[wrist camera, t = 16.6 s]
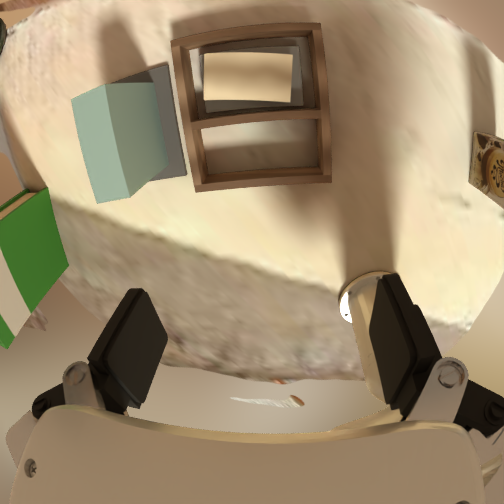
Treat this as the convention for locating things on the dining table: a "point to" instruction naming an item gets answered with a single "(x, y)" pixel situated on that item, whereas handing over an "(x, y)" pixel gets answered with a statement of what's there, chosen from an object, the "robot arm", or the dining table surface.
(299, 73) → the offcut lower
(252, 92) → the offcut upper
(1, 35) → the canister
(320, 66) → the rack
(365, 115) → the dining table surface
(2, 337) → the hardback book
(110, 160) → the pale green square slab
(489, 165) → the coffee box
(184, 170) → the mat
